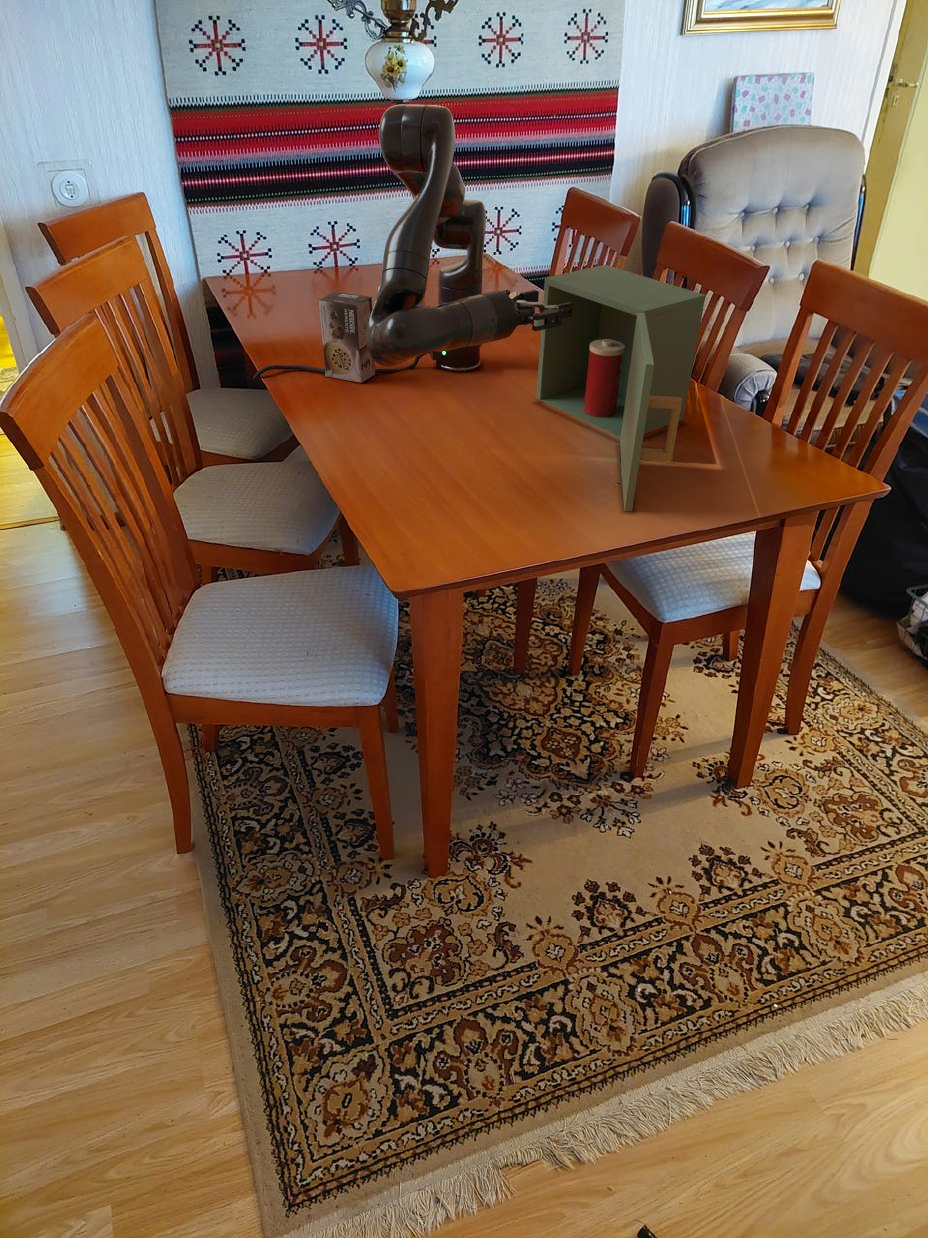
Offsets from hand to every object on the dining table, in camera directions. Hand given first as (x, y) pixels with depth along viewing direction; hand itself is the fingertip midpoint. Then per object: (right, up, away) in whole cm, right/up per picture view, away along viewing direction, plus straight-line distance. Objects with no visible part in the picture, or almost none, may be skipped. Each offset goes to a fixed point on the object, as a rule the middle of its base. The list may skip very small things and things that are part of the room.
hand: (554, 302), depth 150 cm
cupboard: (+13, -14, +23) cm, 30 cm away
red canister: (+11, -13, +21) cm, 27 cm away
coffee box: (-39, -2, +37) cm, 54 cm away
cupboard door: (+15, -30, +1) cm, 33 cm away
